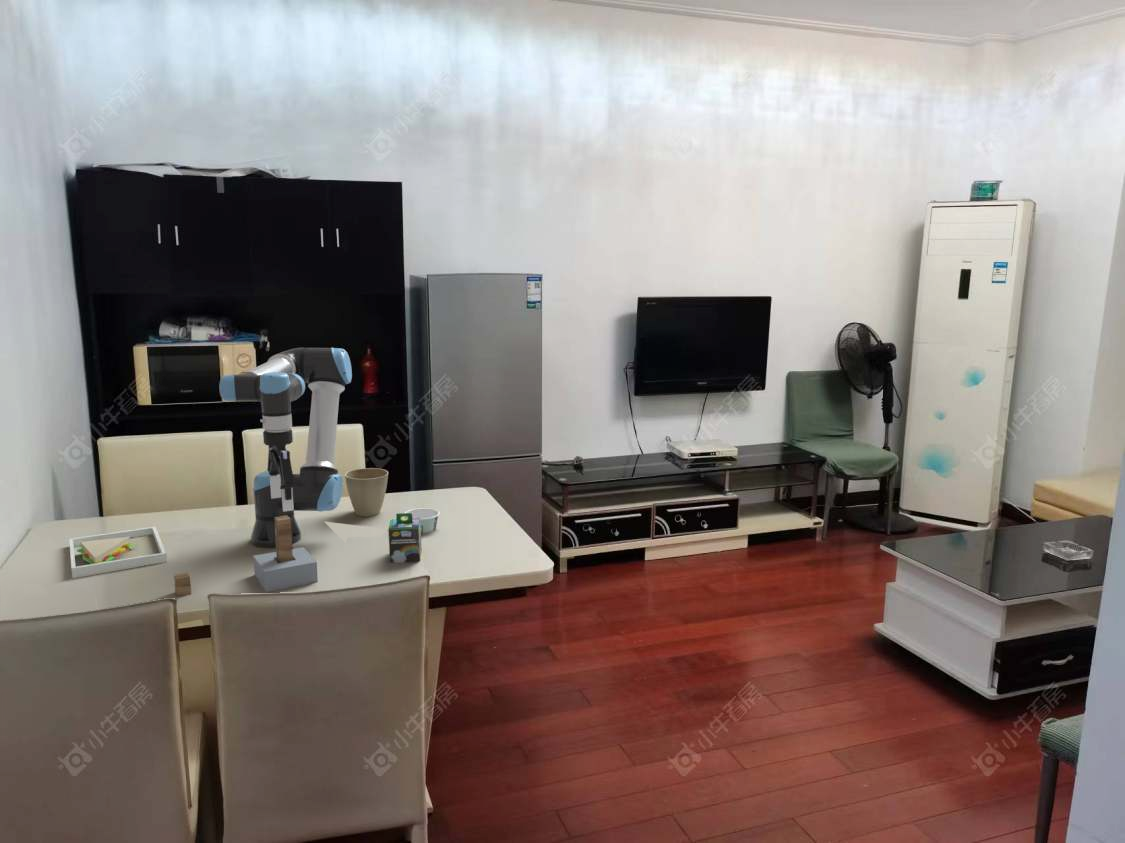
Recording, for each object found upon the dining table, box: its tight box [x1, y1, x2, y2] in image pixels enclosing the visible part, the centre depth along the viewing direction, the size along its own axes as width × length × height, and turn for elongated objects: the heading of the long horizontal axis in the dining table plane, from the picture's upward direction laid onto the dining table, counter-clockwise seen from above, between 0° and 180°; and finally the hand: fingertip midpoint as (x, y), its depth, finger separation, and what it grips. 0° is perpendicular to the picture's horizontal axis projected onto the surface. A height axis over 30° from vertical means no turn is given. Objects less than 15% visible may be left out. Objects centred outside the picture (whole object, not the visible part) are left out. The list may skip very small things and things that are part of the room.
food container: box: [403, 507, 441, 534], centre depth 265 cm, size 12×12×6 cm
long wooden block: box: [274, 515, 293, 563], centre depth 223 cm, size 4×4×18 cm
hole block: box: [253, 546, 319, 593], centre depth 224 cm, size 14×14×6 cm
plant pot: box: [344, 467, 389, 518], centre depth 280 cm, size 15×15×16 cm
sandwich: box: [76, 537, 137, 565], centre depth 235 cm, size 15×20×5 cm
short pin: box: [173, 572, 192, 597], centre depth 213 cm, size 4×4×5 cm
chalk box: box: [387, 512, 423, 564], centre depth 240 cm, size 9×9×15 cm
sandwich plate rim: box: [68, 526, 168, 579], centre depth 241 cm, size 29×24×3 cm
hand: (282, 504), depth 221 cm, fingers open, 13 cm apart
